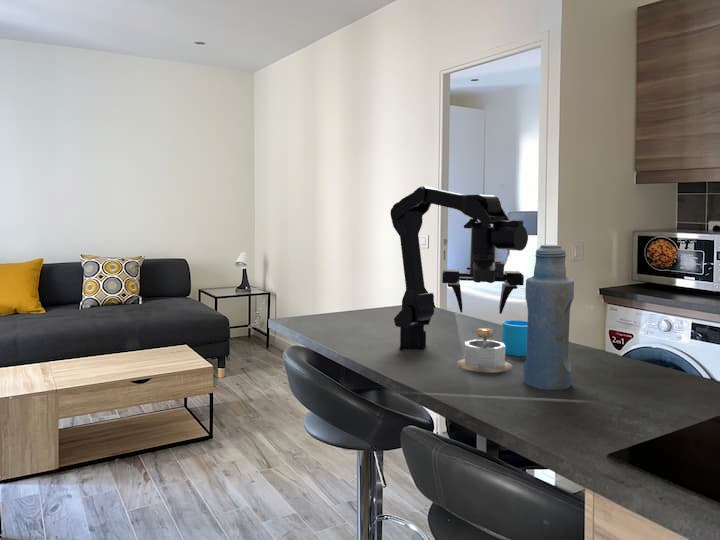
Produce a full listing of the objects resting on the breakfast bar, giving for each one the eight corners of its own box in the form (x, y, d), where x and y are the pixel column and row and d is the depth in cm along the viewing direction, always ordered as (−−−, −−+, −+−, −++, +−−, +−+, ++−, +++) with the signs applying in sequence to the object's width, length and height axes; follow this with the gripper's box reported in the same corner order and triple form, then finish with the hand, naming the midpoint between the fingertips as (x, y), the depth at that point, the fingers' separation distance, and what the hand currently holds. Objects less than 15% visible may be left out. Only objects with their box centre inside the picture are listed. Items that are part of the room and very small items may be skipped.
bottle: (565, 395, 113) (571, 247, 110) (516, 387, 119) (521, 245, 116) (575, 383, 121) (581, 244, 118) (529, 376, 127) (533, 243, 124)
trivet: (457, 373, 129) (457, 370, 129) (455, 358, 142) (455, 356, 142) (515, 375, 127) (515, 373, 127) (508, 360, 140) (508, 358, 140)
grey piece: (465, 369, 131) (466, 347, 130) (463, 355, 143) (463, 336, 142) (506, 370, 129) (506, 349, 129) (500, 357, 141) (501, 337, 141)
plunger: (472, 362, 132) (473, 331, 131) (470, 356, 138) (471, 326, 137) (498, 363, 131) (499, 332, 130) (495, 357, 137) (496, 327, 136)
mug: (539, 357, 144) (541, 325, 143) (510, 358, 142) (511, 326, 142) (517, 346, 156) (518, 317, 155) (489, 347, 154) (490, 318, 153)
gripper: (443, 249, 127) (441, 317, 128) (528, 251, 124) (525, 321, 126) (443, 246, 138) (441, 309, 139) (521, 248, 135) (518, 312, 137)
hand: (480, 312), depth 135 cm, fingers open, 9 cm apart
